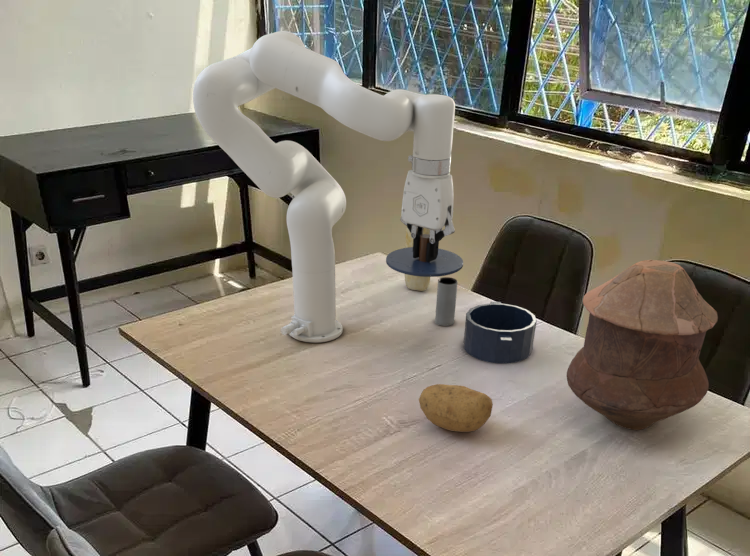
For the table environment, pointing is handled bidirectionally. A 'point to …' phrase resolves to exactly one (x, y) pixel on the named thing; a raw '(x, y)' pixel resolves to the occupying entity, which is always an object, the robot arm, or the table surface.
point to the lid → (424, 261)
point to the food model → (411, 280)
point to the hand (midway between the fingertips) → (424, 257)
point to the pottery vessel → (643, 346)
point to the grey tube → (446, 301)
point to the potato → (455, 407)
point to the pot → (499, 333)
